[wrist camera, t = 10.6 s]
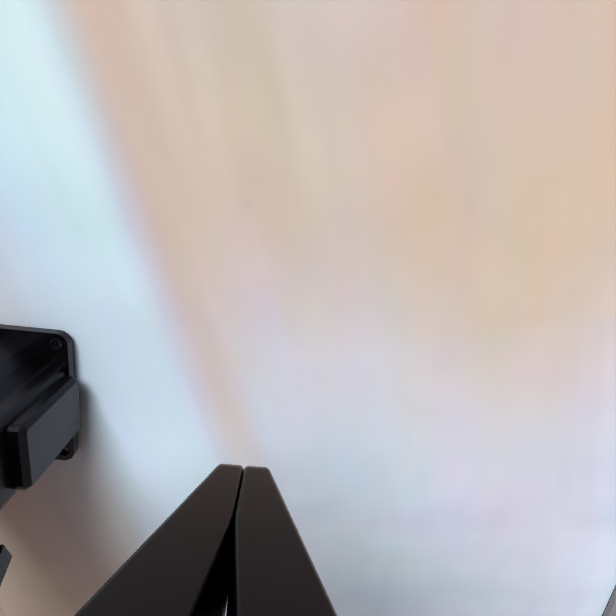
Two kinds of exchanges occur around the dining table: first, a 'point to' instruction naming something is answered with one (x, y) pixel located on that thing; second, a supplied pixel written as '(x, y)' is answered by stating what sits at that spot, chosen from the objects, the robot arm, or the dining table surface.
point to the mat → (611, 606)
